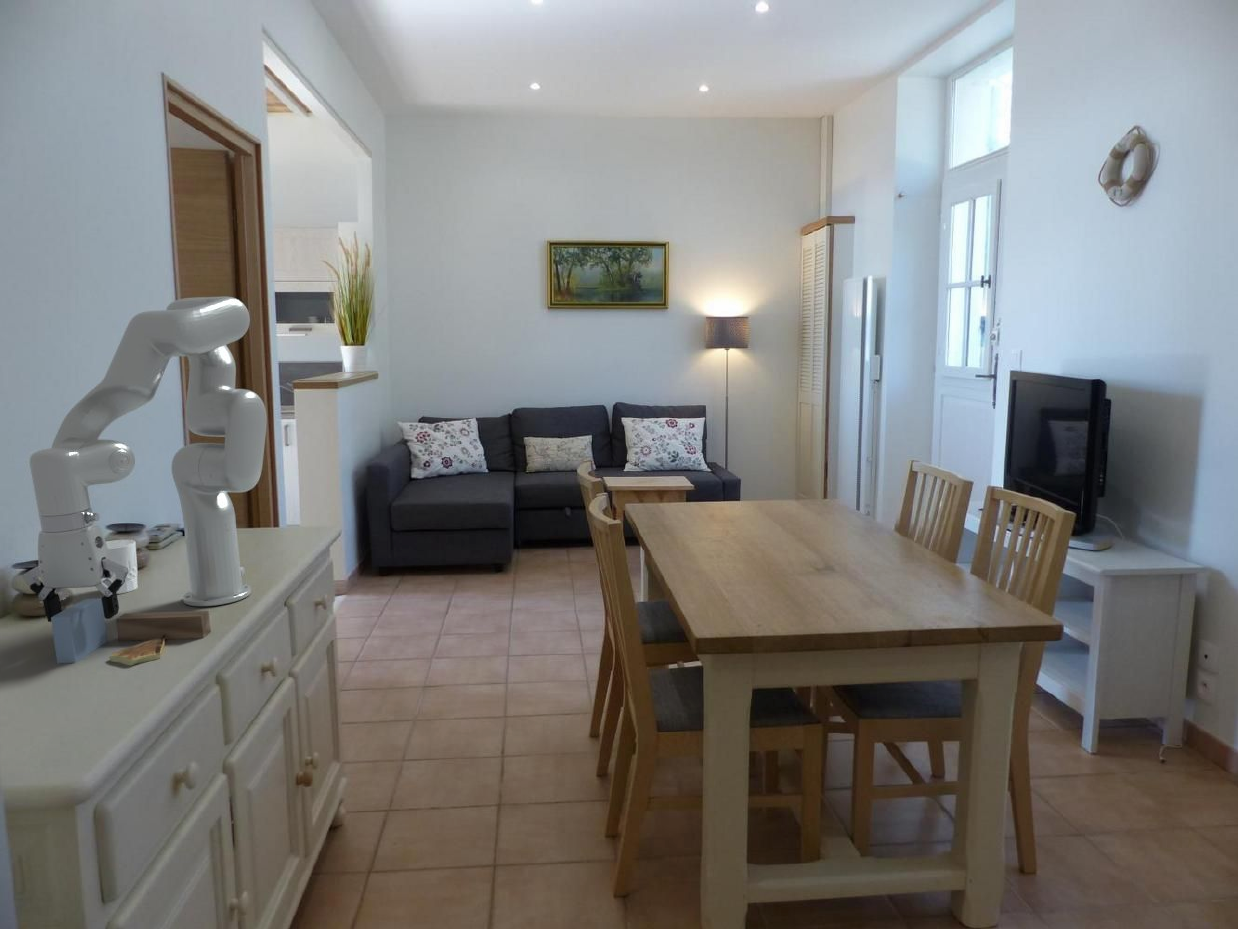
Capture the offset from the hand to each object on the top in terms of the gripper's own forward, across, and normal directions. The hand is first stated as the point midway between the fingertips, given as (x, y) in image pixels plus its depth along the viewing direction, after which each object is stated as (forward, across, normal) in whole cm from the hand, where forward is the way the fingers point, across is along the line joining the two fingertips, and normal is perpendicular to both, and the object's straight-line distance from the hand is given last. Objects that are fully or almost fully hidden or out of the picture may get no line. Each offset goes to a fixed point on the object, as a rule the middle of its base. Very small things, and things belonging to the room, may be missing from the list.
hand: (83, 617), depth 157 cm
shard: (+7, -10, +3) cm, 12 cm away
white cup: (+7, +13, -36) cm, 39 cm away
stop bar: (+6, -11, -5) cm, 13 cm away
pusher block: (+6, 0, +1) cm, 6 cm away
